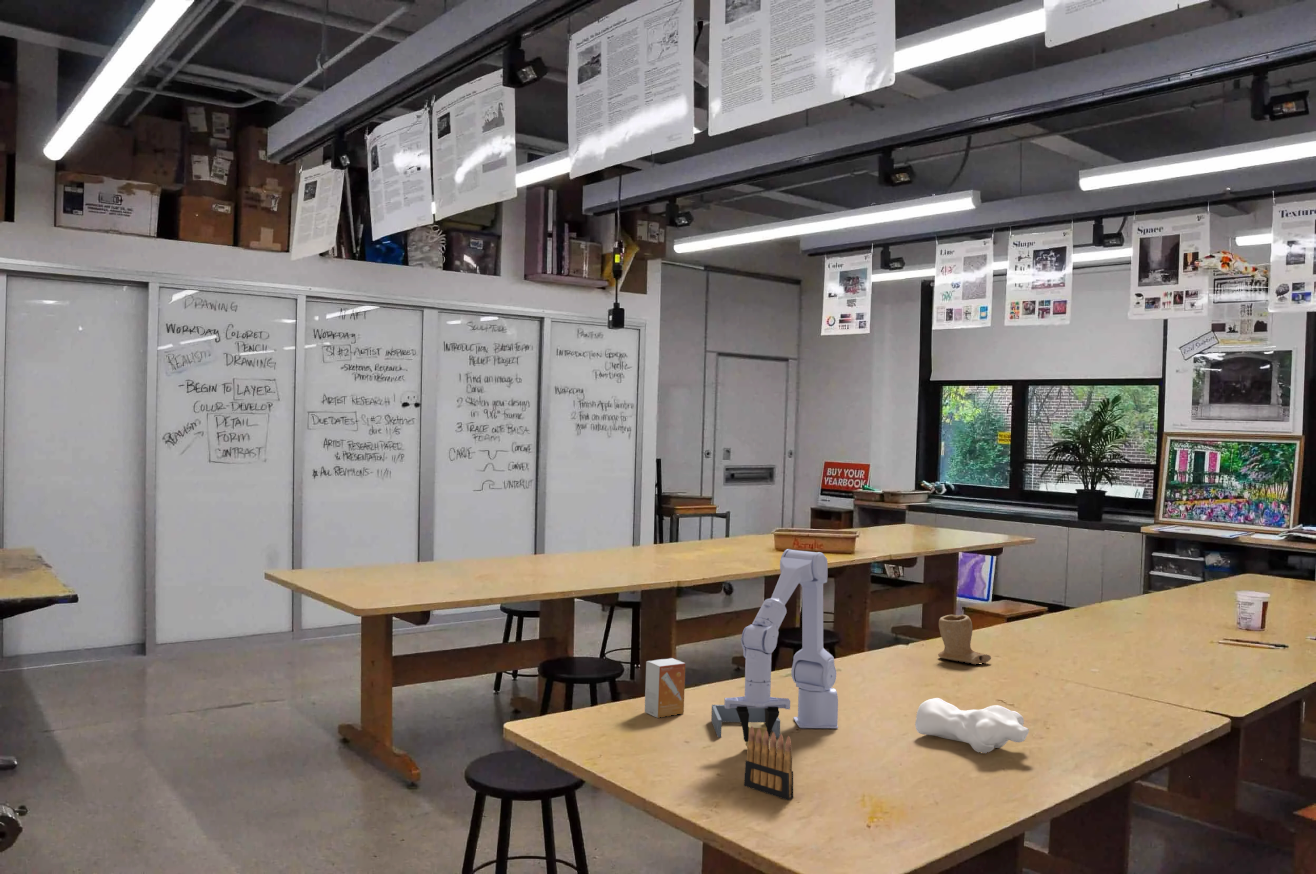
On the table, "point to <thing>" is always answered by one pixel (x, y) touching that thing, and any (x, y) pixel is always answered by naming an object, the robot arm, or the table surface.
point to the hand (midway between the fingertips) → (756, 740)
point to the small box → (664, 687)
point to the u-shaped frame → (732, 716)
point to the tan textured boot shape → (959, 640)
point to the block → (755, 727)
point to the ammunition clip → (769, 765)
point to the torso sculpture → (971, 724)
